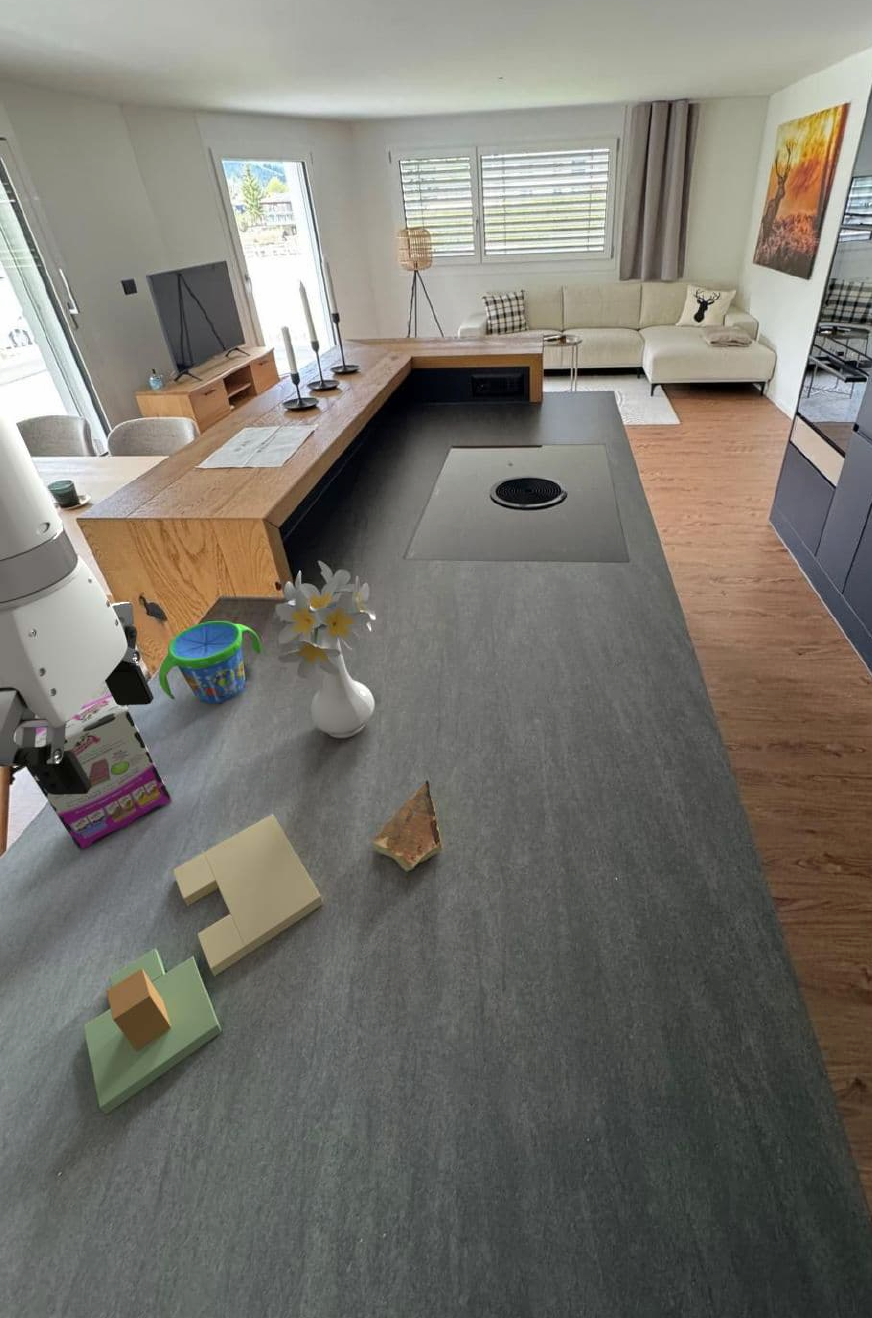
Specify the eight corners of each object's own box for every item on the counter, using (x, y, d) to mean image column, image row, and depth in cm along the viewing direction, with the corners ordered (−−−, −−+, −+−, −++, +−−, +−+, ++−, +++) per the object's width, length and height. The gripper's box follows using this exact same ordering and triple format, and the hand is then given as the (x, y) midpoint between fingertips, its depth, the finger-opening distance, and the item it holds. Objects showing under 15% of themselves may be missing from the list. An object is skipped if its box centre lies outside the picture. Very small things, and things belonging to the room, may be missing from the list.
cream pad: (214, 976, 63) (210, 968, 62) (176, 877, 73) (172, 869, 72) (323, 903, 69) (320, 895, 68) (275, 821, 79) (272, 813, 78)
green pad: (222, 1031, 59) (199, 992, 55) (105, 1115, 54) (71, 1078, 50) (187, 938, 66) (165, 897, 62) (83, 1003, 61) (51, 963, 57)
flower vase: (304, 784, 84) (260, 634, 70) (304, 694, 99) (268, 557, 86) (400, 762, 86) (376, 614, 73) (385, 678, 101) (363, 543, 88)
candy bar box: (161, 779, 85) (119, 688, 77) (173, 801, 82) (130, 708, 73) (70, 827, 79) (12, 734, 70) (78, 853, 76) (20, 758, 67)
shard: (428, 787, 82) (427, 777, 81) (475, 813, 78) (474, 804, 78) (371, 848, 75) (369, 838, 74) (419, 880, 71) (418, 871, 70)
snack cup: (254, 654, 108) (239, 605, 103) (281, 682, 102) (267, 632, 96) (161, 696, 100) (140, 646, 94) (184, 731, 93) (162, 679, 88)
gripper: (38, 512, 50) (117, 676, 59) (-156, 644, 35) (-12, 835, 44) (129, 508, 50) (195, 673, 59) (-29, 639, 35) (91, 833, 44)
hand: (106, 743), depth 51 cm, fingers open, 9 cm apart
